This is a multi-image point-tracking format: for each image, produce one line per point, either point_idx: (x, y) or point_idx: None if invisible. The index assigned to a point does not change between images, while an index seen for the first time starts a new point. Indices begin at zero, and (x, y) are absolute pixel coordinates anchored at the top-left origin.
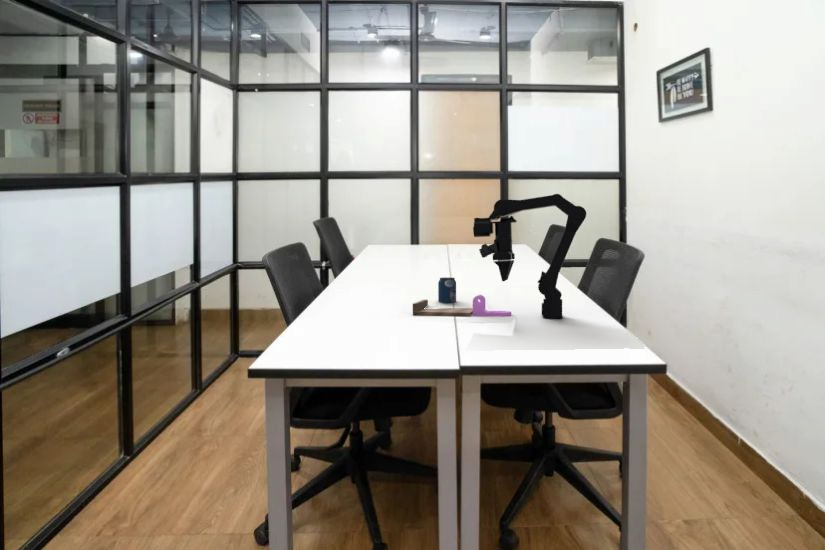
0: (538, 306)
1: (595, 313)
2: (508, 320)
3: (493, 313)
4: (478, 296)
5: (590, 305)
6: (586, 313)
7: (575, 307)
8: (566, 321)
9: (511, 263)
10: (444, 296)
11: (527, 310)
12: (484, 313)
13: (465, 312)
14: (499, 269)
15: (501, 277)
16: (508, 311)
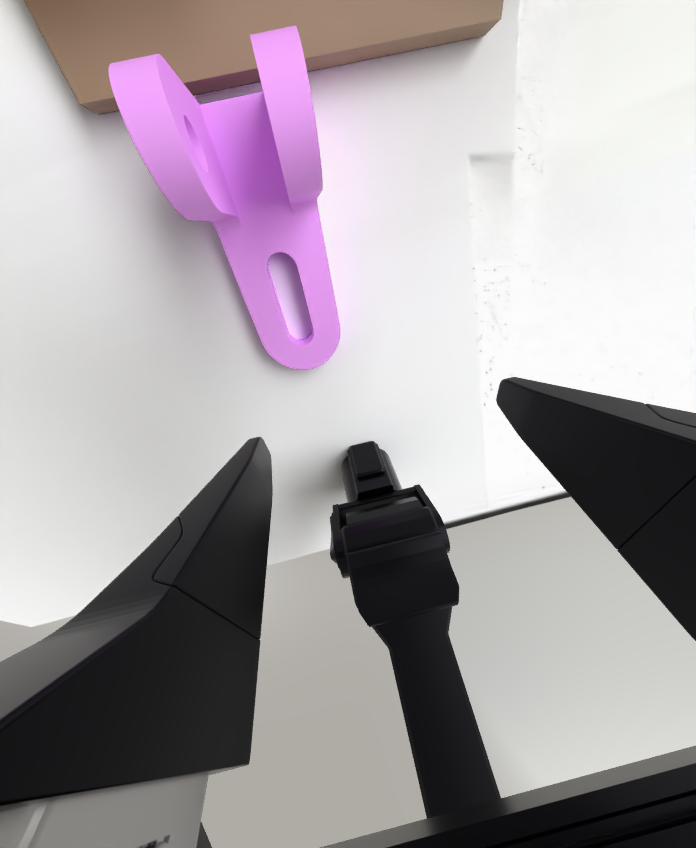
0: (663, 357)
1: None
2: (126, 405)
3: (242, 291)
4: (138, 146)
5: None
6: (433, 502)
7: None
8: None
9: (659, 578)
10: None
11: (515, 362)
12: (217, 229)
13: (67, 31)
14: (143, 554)
15: (228, 463)
16: (322, 352)
